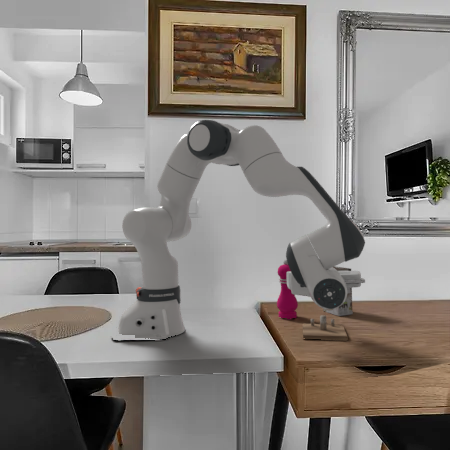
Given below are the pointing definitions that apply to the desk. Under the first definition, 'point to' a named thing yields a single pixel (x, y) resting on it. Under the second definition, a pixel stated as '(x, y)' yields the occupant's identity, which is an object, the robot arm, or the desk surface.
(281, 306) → the pepper mill
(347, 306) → the coffee box
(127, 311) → the robot arm
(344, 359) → the desk surface
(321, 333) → the post plate
